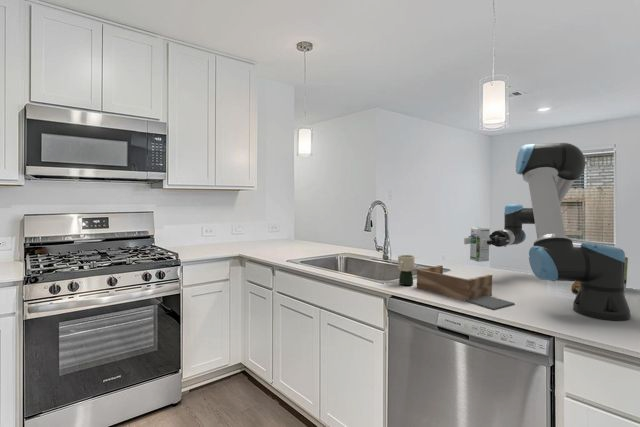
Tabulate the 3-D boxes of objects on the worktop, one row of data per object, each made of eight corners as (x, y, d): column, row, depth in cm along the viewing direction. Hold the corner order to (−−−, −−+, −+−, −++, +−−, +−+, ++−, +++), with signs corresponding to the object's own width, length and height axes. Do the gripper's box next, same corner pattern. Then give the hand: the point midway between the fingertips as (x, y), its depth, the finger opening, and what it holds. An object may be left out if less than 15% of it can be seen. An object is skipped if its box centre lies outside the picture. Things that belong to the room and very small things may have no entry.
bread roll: (602, 307, 138) (613, 289, 137) (576, 294, 140) (586, 276, 139) (588, 299, 148) (598, 282, 147) (564, 288, 149) (573, 271, 148)
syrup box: (469, 259, 158) (469, 227, 158) (481, 259, 159) (481, 226, 159) (477, 261, 153) (477, 228, 152) (489, 261, 154) (490, 227, 153)
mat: (514, 304, 130) (514, 303, 130) (493, 310, 124) (493, 308, 124) (485, 296, 140) (485, 295, 140) (464, 301, 135) (464, 299, 135)
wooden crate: (439, 282, 163) (439, 265, 163) (491, 295, 143) (492, 275, 142) (416, 287, 155) (416, 269, 154) (468, 301, 134) (468, 280, 134)
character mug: (404, 281, 166) (404, 253, 166) (418, 283, 162) (419, 255, 161) (393, 285, 158) (393, 256, 158) (407, 288, 154) (408, 258, 153)
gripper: (524, 248, 158) (495, 253, 145) (481, 243, 174) (452, 248, 161) (524, 231, 157) (495, 235, 144) (481, 228, 174) (452, 231, 161)
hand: (473, 242), depth 153 cm, fingers closed on syrup box, 7 cm apart
